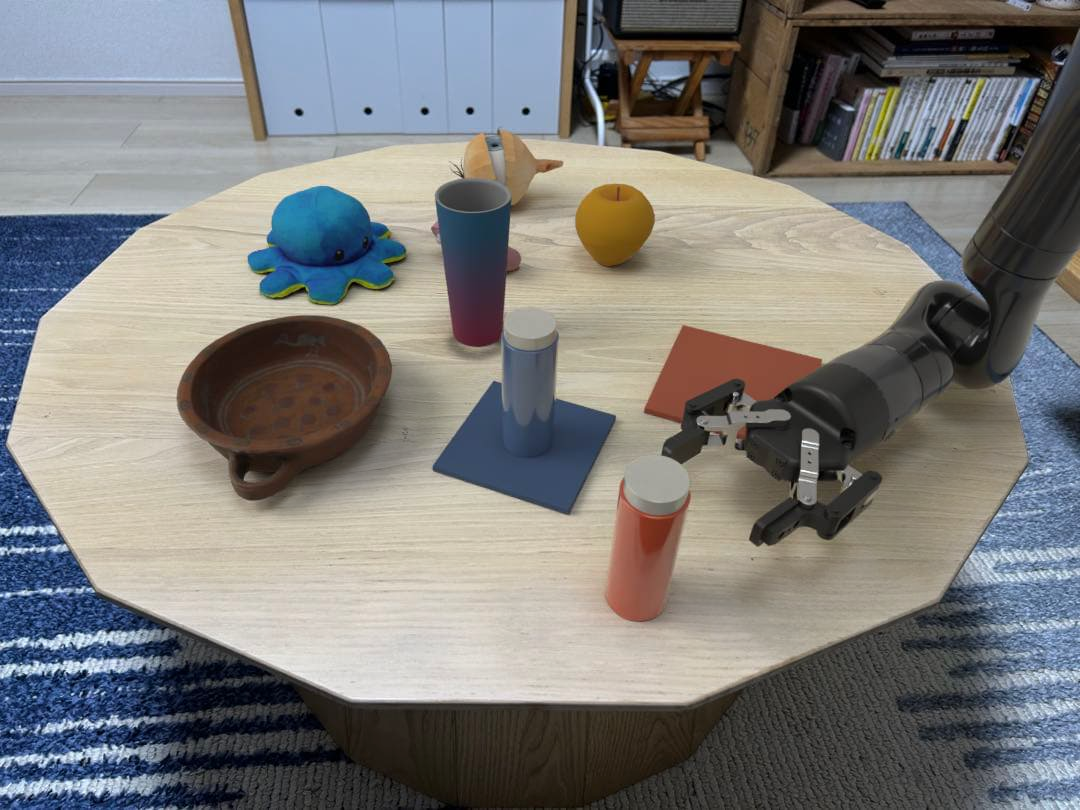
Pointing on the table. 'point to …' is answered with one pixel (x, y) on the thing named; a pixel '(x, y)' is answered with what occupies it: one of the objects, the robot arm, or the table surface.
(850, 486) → the robot arm
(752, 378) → the terracotta mat
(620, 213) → the apple
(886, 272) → the table surface
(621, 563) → the terracotta shaker
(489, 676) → the table surface
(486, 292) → the cup
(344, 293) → the plush toy
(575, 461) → the blue mat
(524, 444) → the blue shaker
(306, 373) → the dish
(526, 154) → the sculpture
